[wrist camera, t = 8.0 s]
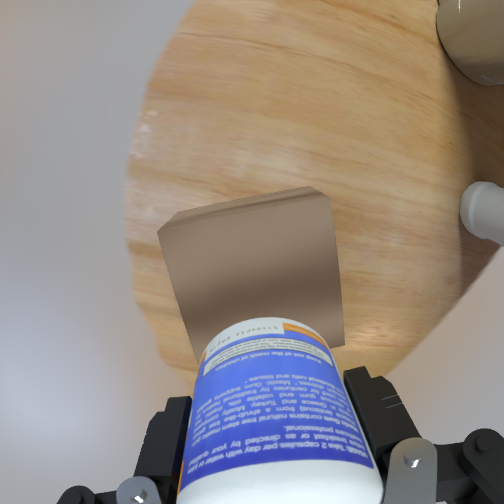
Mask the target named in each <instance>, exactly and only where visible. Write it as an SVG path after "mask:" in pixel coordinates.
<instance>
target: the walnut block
mask: <svg viewBox="0 0 504 504" xmlns="http://www.w3.org/2000/svg"><path fill="white" fill-rule="evenodd" d="M157 233H158V237H159V241H160V244H161V248H162V251H163V255H164V259H165V262H166V266H167V269H168V272H169V276H170V279H171V282H172V286H173V289H174V292H175V296H176V299H177V302H178V305H179V308H180V311H181V315H182V318H183V321H184V324H185V327H186V330H187V333H188V336H189V339H190V342H191V344H192V347H193V350H194V353H195V356H196V359H197V362H198V364H199V363H200V360H201V357H202V354H203V352H204V350H205V349H206V347H207V346H208V344H209V343H210V342H211V341H212V339H213V338H214V337H216V336H217V335H218V334H219V333H221V332H222V331H223V330H225V329H227V328H228V327H230V326H232V325H234V324H237V323H239V322H242V321H246V320H249V319H255V318H264V317H277V318H285V319H290V320H294V321H297V322H300V323H302V324H304V325H306V326H308V327H310V328H312V329H313V330H314V331H316V332H317V333H318V334H319V335H320V336H321V337H322V338H323V339H324V340H325V342H326V343H327V345H328V347H329V348H334V347H339V346H343V345H345V339H344V323H343V309H342V297H341V285H340V275H339V265H338V256H337V247H336V238H335V230H334V222H333V215H332V207H331V200H330V197H328V196H327V195H325V194H323V193H321V192H319V191H318V190H316V189H314V188H312V187H310V186H308V187H303V188H297V189H291V190H286V191H280V192H275V193H269V194H264V195H259V196H253V197H248V198H243V199H238V200H233V201H228V202H223V203H219V204H214V205H209V206H204V207H200V208H195V209H191V210H186V211H182V212H178V213H177V214H176V215H175V216H173V217H172V218H171V219H170V220H169V221H168V222H167V223H166V224H165V225H164V226H162V227H161V228H160V229H159V230H158V231H157Z"/></svg>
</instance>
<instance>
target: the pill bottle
mask: <svg viewBox="0 0 504 504" xmlns="http://www.w3.org/2000/svg"><path fill="white" fill-rule="evenodd" d="M384 494H385V487H384V484H383V481H382V479H381V476H380V473H379V471H378V468H377V466H376V463H375V460H374V458H373V455H372V453H371V450H370V448H369V445H368V443H367V440H366V438H365V435H364V432H363V430H362V427H361V425H360V423H359V420H358V418H357V415H356V413H355V410H354V408H353V405H352V403H351V400H350V398H349V395H348V393H347V390H346V388H345V385H344V383H343V380H342V378H341V375H340V372H339V370H338V367H337V365H336V362H335V360H334V357H333V355H332V353H331V350H330V348H329V347H328V345H327V343H326V342H325V340H324V339H323V338H322V337H321V336H320V335H319V334H318V333H317V332H316V331H314V330H313V329H312V328H310V327H308V326H306V325H304V324H302V323H300V322H297V321H294V320H290V319H285V318H277V317H264V318H255V319H249V320H246V321H242V322H239V323H237V324H234V325H232V326H230V327H228V328H227V329H225V330H223V331H222V332H221V333H219V334H218V335H217V336H216V337H214V338H213V339H212V341H211V342H210V343H209V344H208V346H207V347H206V349H205V350H204V352H203V354H202V357H201V360H200V363H199V367H198V371H197V377H196V382H195V388H194V393H193V400H192V406H191V412H190V418H189V424H188V430H187V435H186V442H185V448H184V454H183V460H182V466H181V473H180V480H179V486H178V492H177V501H176V504H383V500H384Z"/></svg>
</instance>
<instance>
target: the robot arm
mask: <svg viewBox="0 0 504 504" xmlns="http://www.w3.org/2000/svg"><path fill="white" fill-rule="evenodd" d="M439 4H440V6H439V9H438V12H437V18H436V23H437V30H438V33H439V37H440V40H441V42H442V44H443V46H444V49H445V50H446V52H447V54H448V55H449V57H450V59H451V60H452V61H453V63H454V64H455V65H456V67H457V68H458V69H459V70H460V71H461V72H462V73H463V74H464V75H466V76H467V77H468V78H469V79H471V80H472V81H474V82H476V83H478V84H481V85H485V86H492V85H501V84H504V0H439ZM343 377H344V385H345V388H346V390H347V393H348V395H349V398H350V400H351V403H352V405H353V408H354V410H355V413H356V415H357V418H358V420H359V423H360V425H361V427H362V430H363V432H364V435H365V438H366V440H367V443H368V445H369V448H370V450H371V453H372V455H373V458H374V460H375V463H376V466H377V468H378V471H379V473H380V476H381V479H382V481H383V484H384V487H385V494H384V500H383V504H435V503H436V502H442V501H446V503H447V504H504V438H503V437H502V436H501V435H500V434H499V433H497V432H496V431H494V430H491V429H478V430H475V431H473V432H472V433H470V434H469V435H468V436H467V437H466V439H465V441H464V442H460V443H454V444H446V445H436V444H432V443H431V442H430V441H428V440H426V439H423V438H422V437H421V436H420V434H419V433H418V431H417V429H416V427H415V426H414V423H413V421H412V419H411V418H410V416H409V414H408V412H407V410H406V408H405V407H404V405H403V404H402V401H401V399H400V397H399V396H398V395H397V392H396V390H395V388H394V387H393V385H392V383H391V382H389V381H388V380H386V379H385V378H384V377H382V376H378V377H375V378H371V377H370V375H369V373H368V371H367V369H366V367H365V366H361V367H358V368H354V369H350V370H346V371H344V373H343ZM191 406H192V399H191V397H190V396H183V397H172V398H171V397H170V398H169V399H168V401H167V404H166V408H165V411H163V412H157V413H156V414H155V416H154V417H153V418H152V419H151V421H150V422H149V425H148V428H147V432H146V433H147V434H146V435H145V438H144V444H143V445H142V448H141V452H140V455H139V458H138V462H137V465H136V469H135V473H134V475H133V477H132V478H129V479H127V480H125V481H123V482H122V483H121V484H120V486H119V487H118V489H117V490H116V491H111V492H104V493H98V494H94V493H93V492H92V491H91V490H90V489H89V488H87V487H85V486H73V487H71V488H69V489H67V490H66V491H65V492H64V493H63V495H62V496H61V498H60V499H59V501H58V502H57V504H176V501H177V492H178V486H179V480H180V473H181V466H182V460H183V454H184V448H185V442H186V435H187V430H188V424H189V418H190V412H191Z"/></svg>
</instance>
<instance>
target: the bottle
mask: <svg viewBox="0 0 504 504" xmlns="http://www.w3.org/2000/svg"><path fill="white" fill-rule="evenodd" d="M460 217H461V221H462V223H463V225H464V226H465V228H466V229H467V230H468V231H469V232H470V233H472V234H474V235H476V236H477V237H479V238H481V239H490V240H492V241H494V242H496V243H498V244H500V245H502V246H504V188H500V187H499V186H497V185H496V184H495V183H492V182H482V181H478V182H475V183H473V184H471V185H469V186H468V187H467V189H466V190H465V191H464V193H463V195H462V198H461V201H460Z"/></svg>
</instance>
